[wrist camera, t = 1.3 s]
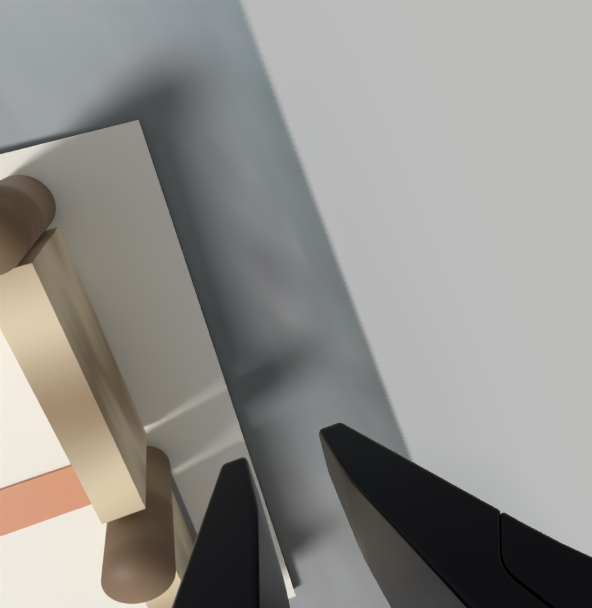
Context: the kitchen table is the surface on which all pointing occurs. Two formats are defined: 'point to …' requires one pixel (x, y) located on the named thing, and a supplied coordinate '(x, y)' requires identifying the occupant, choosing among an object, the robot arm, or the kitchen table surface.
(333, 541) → the kitchen table surface
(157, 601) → the beige flat block
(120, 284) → the card
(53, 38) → the kitchen table surface
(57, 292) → the fence gate
